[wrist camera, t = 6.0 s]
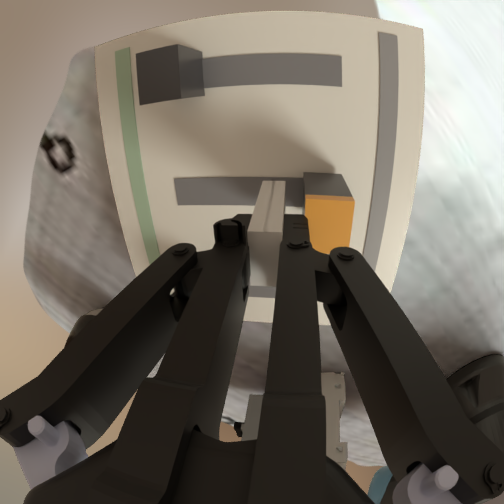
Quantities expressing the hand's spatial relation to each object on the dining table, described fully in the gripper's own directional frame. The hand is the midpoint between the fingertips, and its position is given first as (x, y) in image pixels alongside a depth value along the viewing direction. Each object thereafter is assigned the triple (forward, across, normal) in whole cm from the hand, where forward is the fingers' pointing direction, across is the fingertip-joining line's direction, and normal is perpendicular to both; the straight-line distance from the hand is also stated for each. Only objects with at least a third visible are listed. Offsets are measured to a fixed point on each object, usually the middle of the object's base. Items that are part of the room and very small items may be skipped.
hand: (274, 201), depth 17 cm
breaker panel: (+6, +1, 0) cm, 7 cm away
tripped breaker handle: (+1, -3, 0) cm, 3 cm away
